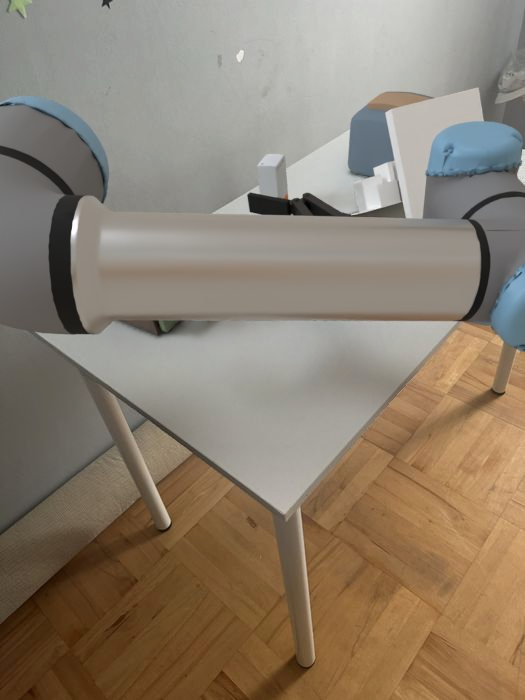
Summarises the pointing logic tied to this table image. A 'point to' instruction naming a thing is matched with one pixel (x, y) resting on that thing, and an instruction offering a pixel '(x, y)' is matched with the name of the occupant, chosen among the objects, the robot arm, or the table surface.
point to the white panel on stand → (414, 151)
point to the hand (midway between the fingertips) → (221, 225)
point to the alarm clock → (375, 131)
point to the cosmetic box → (273, 176)
